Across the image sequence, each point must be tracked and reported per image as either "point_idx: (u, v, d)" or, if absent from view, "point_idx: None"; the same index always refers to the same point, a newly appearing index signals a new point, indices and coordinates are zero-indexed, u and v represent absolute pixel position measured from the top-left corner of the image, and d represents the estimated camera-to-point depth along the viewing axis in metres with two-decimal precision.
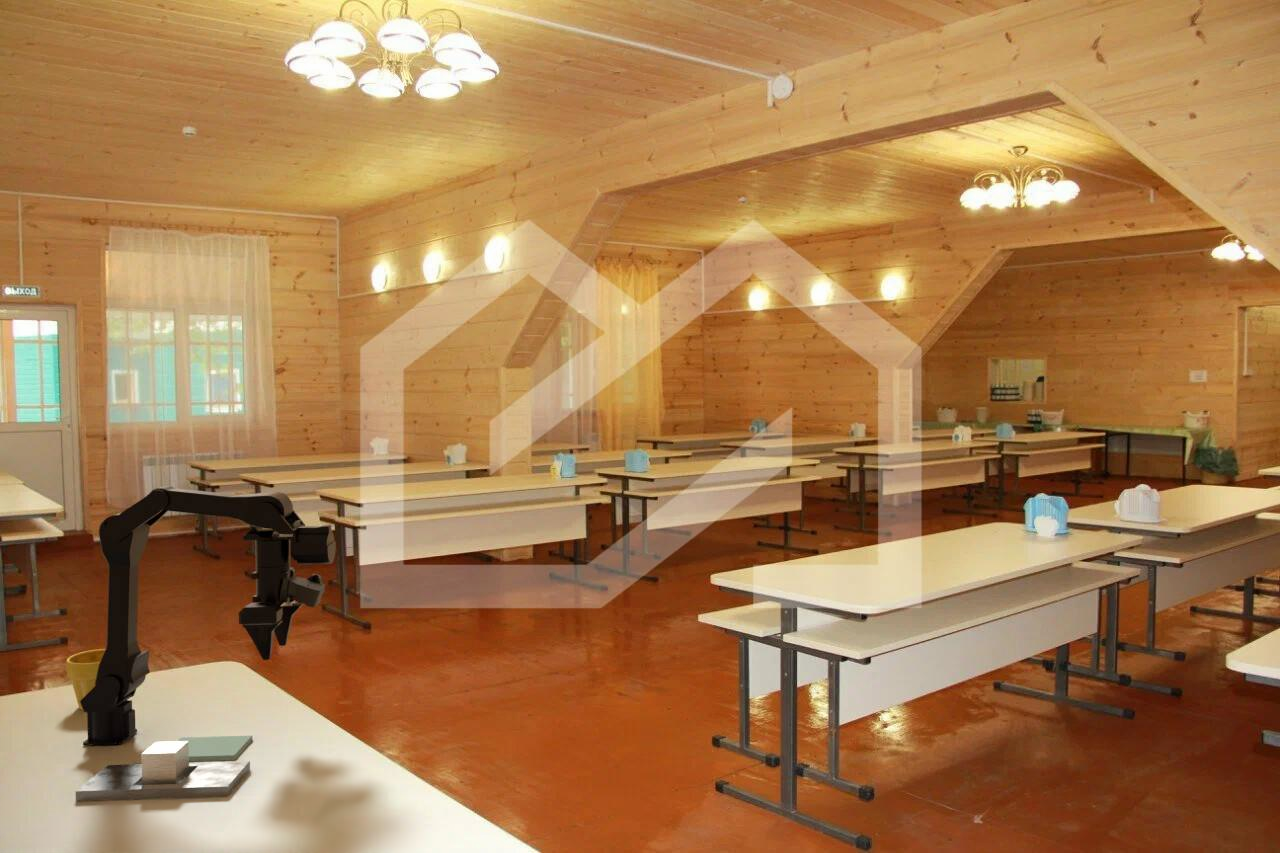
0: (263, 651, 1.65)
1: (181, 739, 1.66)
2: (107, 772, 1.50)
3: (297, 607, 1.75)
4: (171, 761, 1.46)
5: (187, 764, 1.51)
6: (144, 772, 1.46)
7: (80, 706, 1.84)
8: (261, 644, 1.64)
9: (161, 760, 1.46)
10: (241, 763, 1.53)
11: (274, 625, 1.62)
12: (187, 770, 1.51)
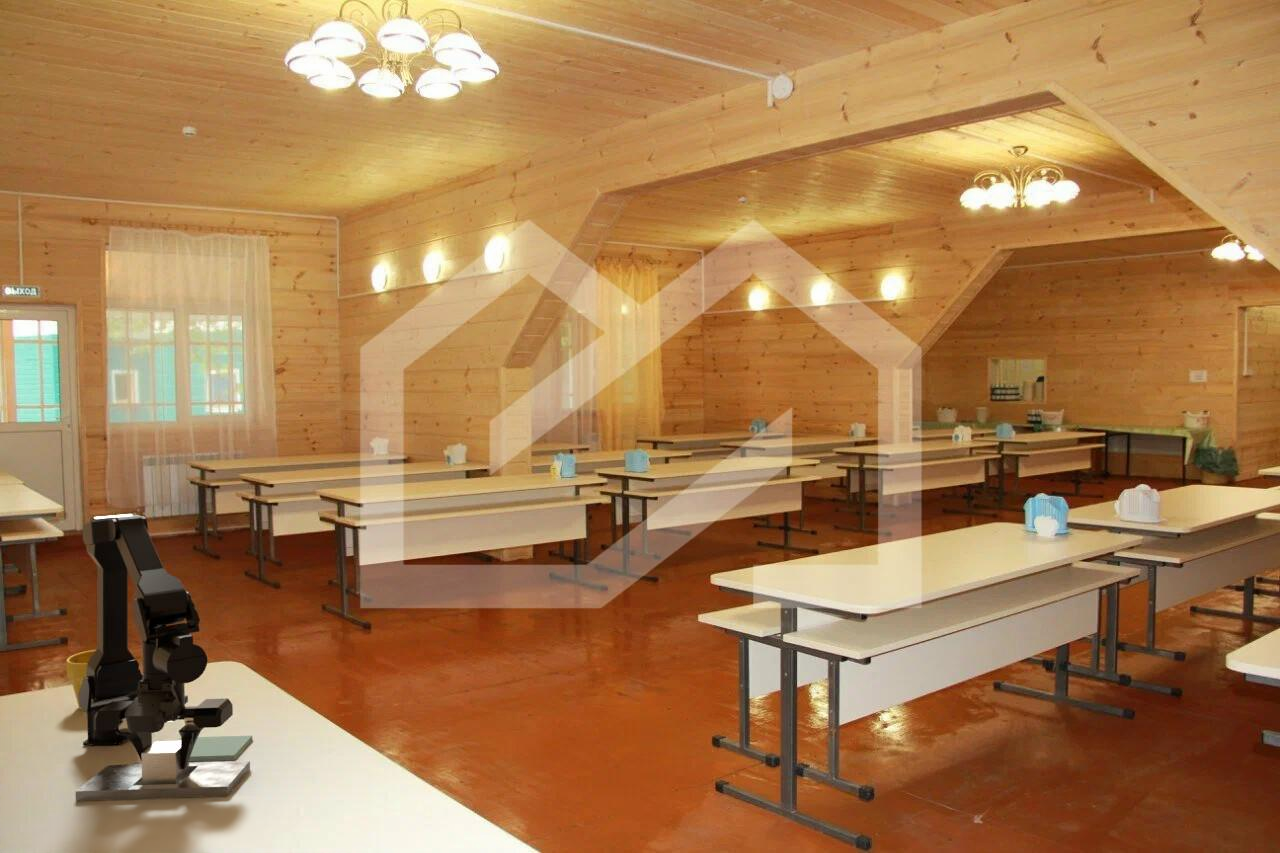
0: None
1: None
2: (107, 772, 1.50)
3: None
4: (171, 761, 1.46)
5: (187, 764, 1.51)
6: (144, 772, 1.46)
7: None
8: None
9: (161, 760, 1.46)
10: (241, 763, 1.53)
11: (116, 732, 1.46)
12: (187, 770, 1.51)
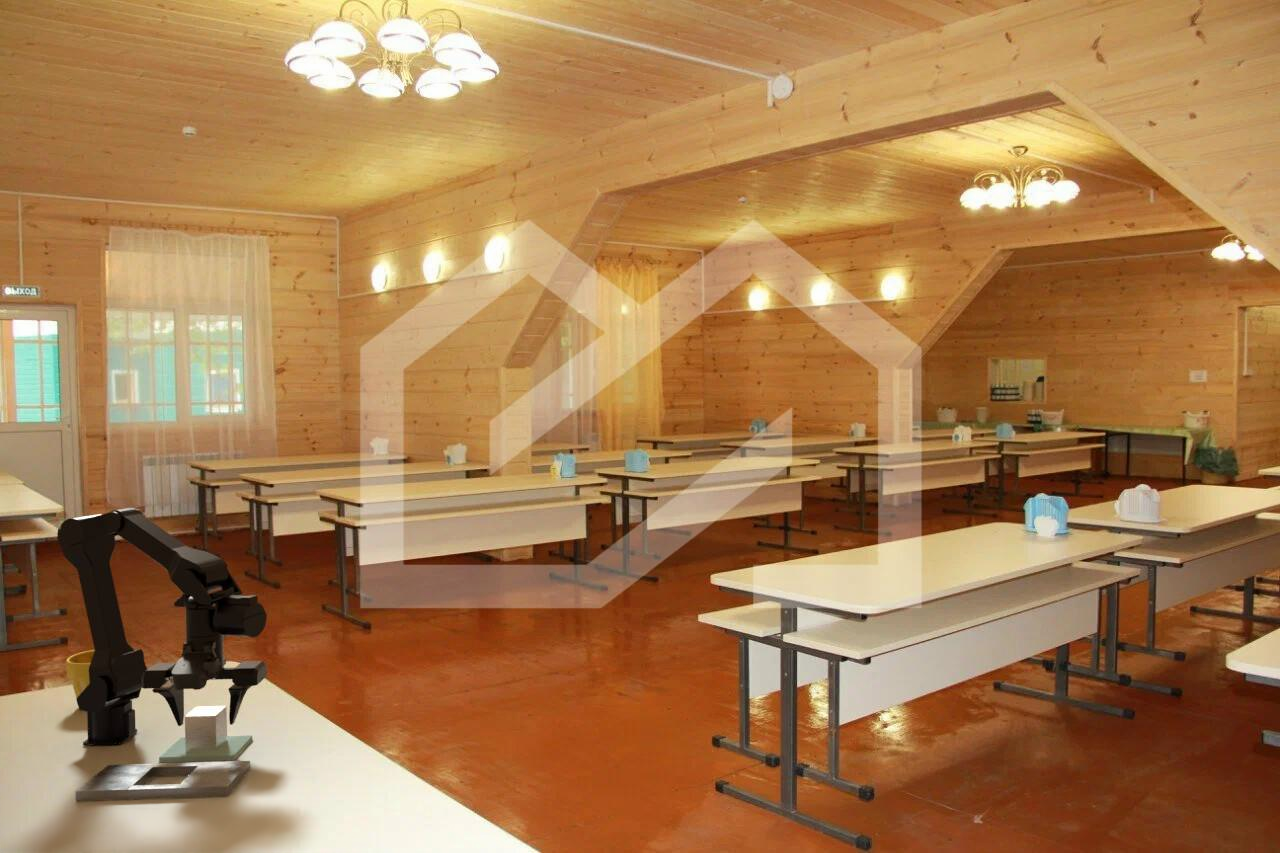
0: None
1: (181, 739, 1.66)
2: (107, 772, 1.50)
3: (229, 689, 1.60)
4: (212, 723, 1.60)
5: (225, 727, 1.65)
6: (187, 733, 1.60)
7: None
8: None
9: (203, 722, 1.60)
10: (241, 763, 1.53)
11: (152, 690, 1.59)
12: (225, 732, 1.65)
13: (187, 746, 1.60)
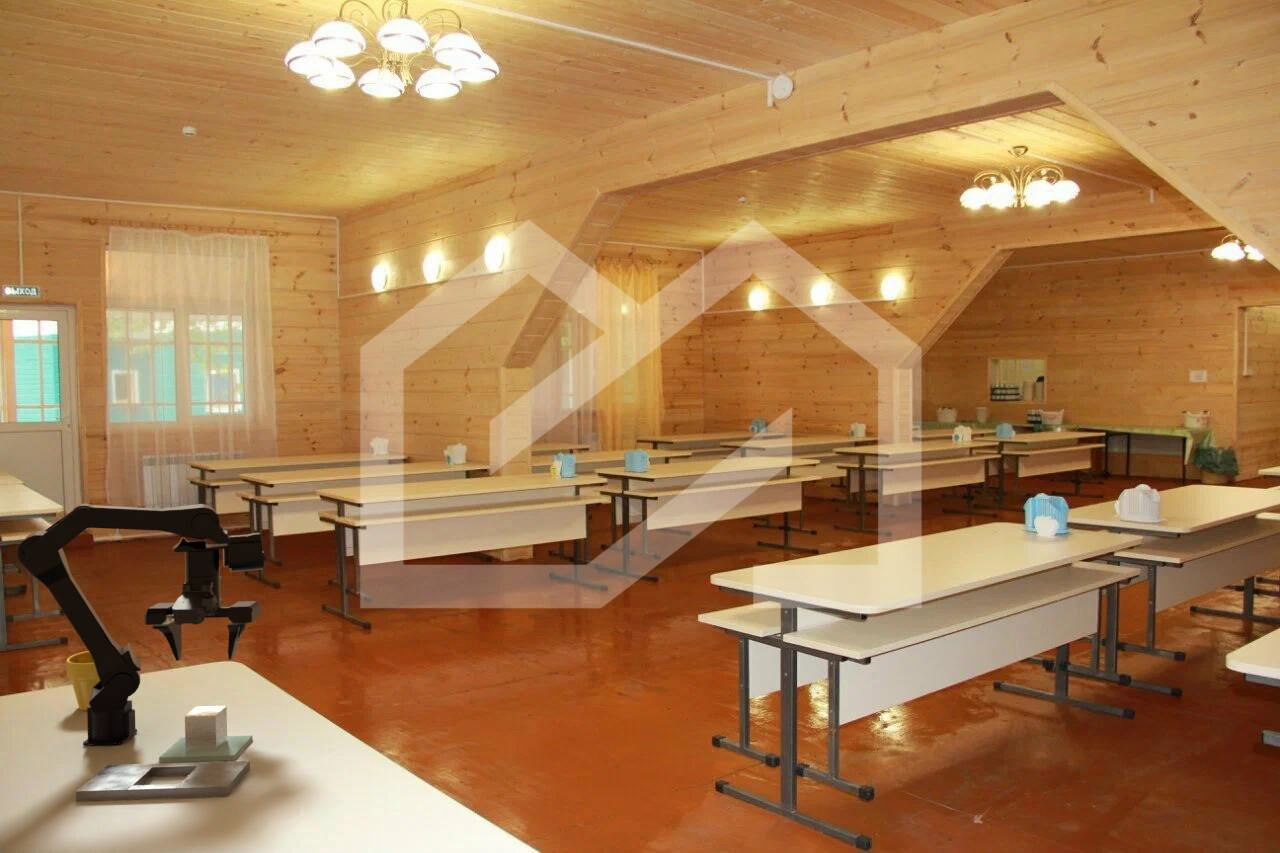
0: None
1: (181, 739, 1.66)
2: (107, 772, 1.50)
3: None
4: (212, 723, 1.60)
5: (225, 727, 1.65)
6: (187, 733, 1.60)
7: (80, 706, 1.84)
8: None
9: (203, 722, 1.60)
10: (241, 763, 1.53)
11: None
12: (225, 732, 1.65)
13: (187, 746, 1.60)
